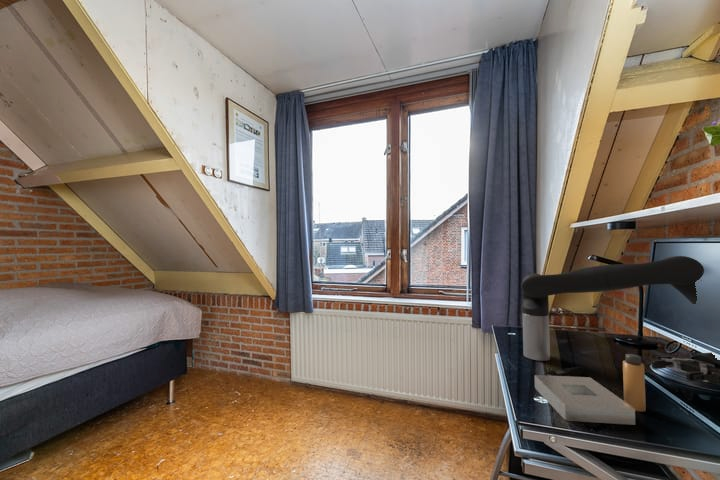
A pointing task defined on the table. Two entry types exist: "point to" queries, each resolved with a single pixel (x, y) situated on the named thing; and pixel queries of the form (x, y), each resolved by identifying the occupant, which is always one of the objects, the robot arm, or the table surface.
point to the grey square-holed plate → (584, 400)
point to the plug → (634, 382)
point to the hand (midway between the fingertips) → (669, 370)
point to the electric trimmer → (567, 372)
